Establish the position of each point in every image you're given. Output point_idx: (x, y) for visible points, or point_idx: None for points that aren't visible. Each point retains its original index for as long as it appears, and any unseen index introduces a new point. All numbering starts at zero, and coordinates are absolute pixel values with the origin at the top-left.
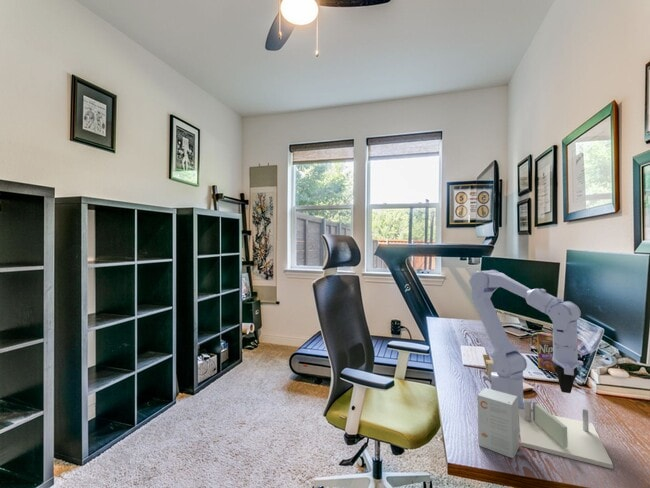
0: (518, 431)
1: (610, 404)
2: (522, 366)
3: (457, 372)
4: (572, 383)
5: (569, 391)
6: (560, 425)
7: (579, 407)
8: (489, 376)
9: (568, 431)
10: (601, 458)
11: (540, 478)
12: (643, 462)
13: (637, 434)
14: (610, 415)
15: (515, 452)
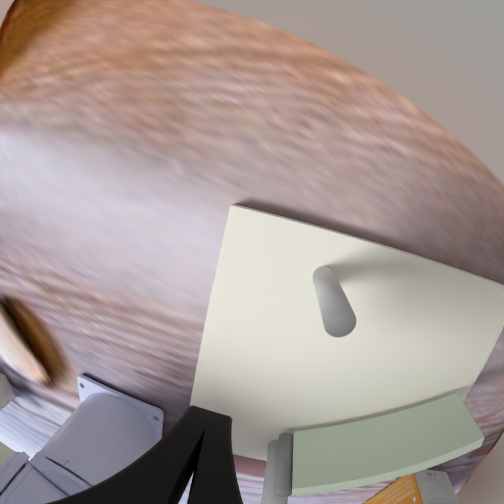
0: (426, 498)
1: (31, 63)
2: (37, 497)
3: (19, 437)
4: (237, 493)
5: (230, 432)
6: (467, 450)
7: (60, 180)
8: (7, 402)
9: (344, 353)
10: (496, 310)
11: (499, 435)
12: (475, 158)
13: (254, 38)
14: (101, 79)
15: (436, 473)
